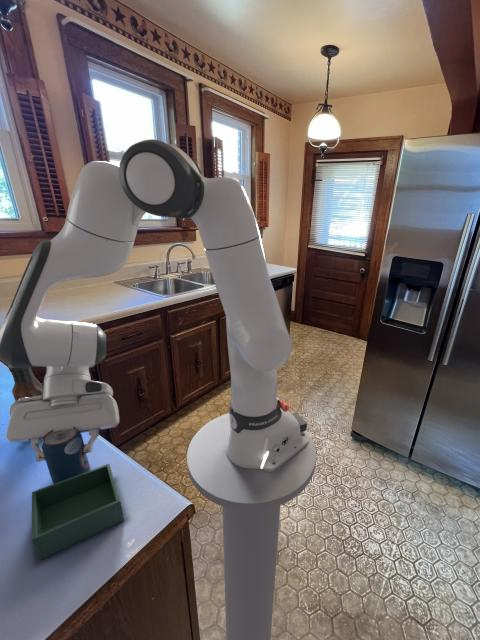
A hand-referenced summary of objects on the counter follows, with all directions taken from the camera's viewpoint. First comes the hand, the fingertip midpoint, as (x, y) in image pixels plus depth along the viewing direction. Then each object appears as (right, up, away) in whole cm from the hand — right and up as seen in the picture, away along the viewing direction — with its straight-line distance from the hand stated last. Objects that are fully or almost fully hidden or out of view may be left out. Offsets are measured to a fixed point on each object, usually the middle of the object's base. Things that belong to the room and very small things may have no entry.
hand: (65, 456), depth 65 cm
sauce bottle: (-18, 0, +16) cm, 24 cm away
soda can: (-1, -6, +3) cm, 7 cm away
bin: (+6, -10, -5) cm, 12 cm away
